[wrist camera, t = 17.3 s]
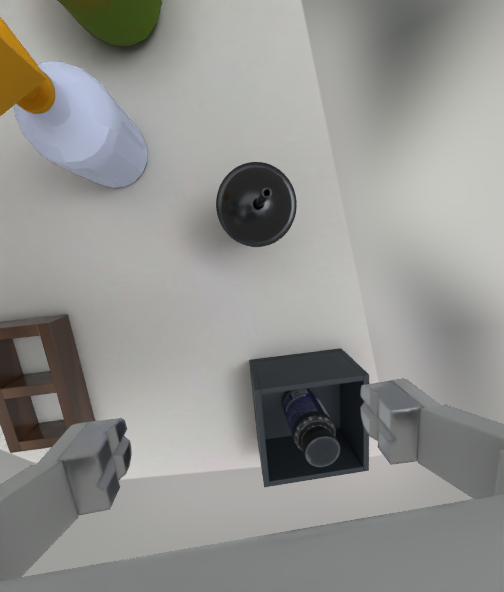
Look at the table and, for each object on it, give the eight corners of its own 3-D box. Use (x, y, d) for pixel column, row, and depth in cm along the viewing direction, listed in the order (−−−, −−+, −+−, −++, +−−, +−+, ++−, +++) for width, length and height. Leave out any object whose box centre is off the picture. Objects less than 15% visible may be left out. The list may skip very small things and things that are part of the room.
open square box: (257, 440, 45) (264, 487, 37) (249, 360, 42) (254, 390, 33) (342, 428, 46) (368, 470, 38) (341, 348, 43) (369, 374, 34)
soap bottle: (116, 99, 33) (-184, -282, 9) (162, 163, 35) (16, -10, 11) (62, 141, 33) (-362, -114, 9) (110, 202, 35) (-138, 118, 11)
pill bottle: (276, 411, 43) (292, 467, 33) (288, 380, 42) (308, 426, 32) (309, 419, 44) (335, 476, 34) (322, 388, 43) (353, 437, 33)
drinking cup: (257, 254, 39) (286, 266, 19) (211, 229, 37) (192, 214, 18) (282, 208, 38) (340, 171, 18) (236, 180, 36) (244, 108, 17)
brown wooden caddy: (30, 433, 41) (10, 453, 37) (-5, 322, 37) (-33, 331, 33) (96, 424, 42) (82, 442, 38) (67, 314, 38) (49, 322, 34)
